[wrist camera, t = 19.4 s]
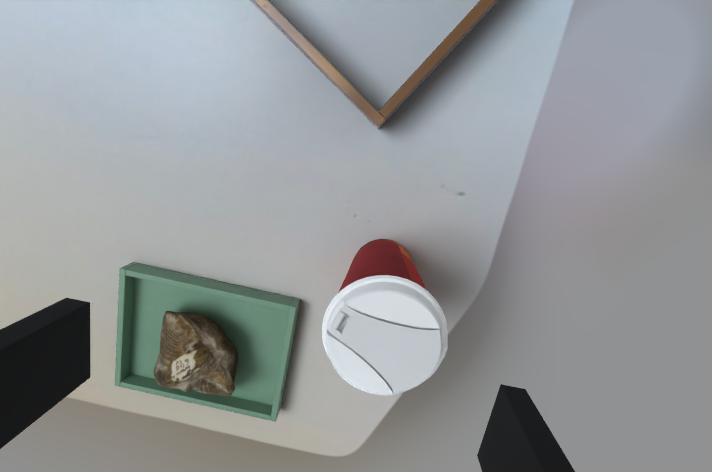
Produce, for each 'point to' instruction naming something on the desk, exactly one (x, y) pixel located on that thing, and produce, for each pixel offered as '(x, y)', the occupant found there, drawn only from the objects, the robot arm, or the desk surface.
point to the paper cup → (384, 323)
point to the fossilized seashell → (195, 355)
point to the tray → (228, 308)
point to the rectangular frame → (347, 88)
